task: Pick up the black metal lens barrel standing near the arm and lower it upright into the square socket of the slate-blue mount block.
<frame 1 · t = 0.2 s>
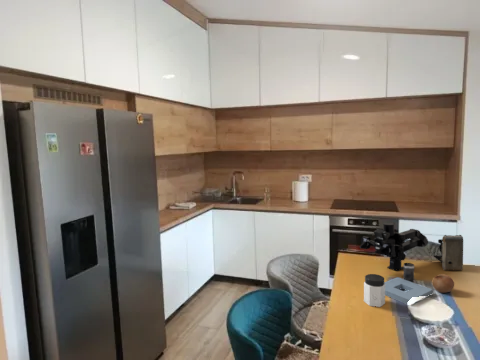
hand: (367, 249, 175), 16 cm above the table, fingers open, 9 cm apart
onion: (442, 291, 162), on the table
vintage camera: (446, 266, 191), on the table
lens: (408, 281, 174), on the table
jar: (374, 303, 154), on the table
mount block: (403, 292, 162), on the table
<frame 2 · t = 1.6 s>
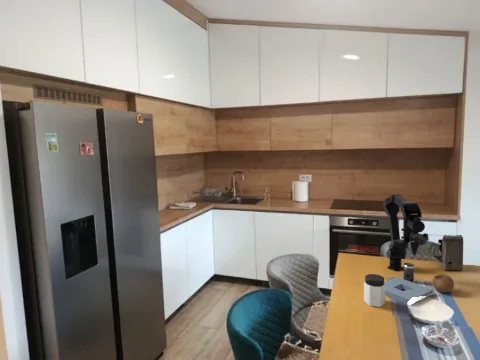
hand: (408, 257, 172), 13 cm above the table, fingers open, 9 cm apart
nothing on the table moved.
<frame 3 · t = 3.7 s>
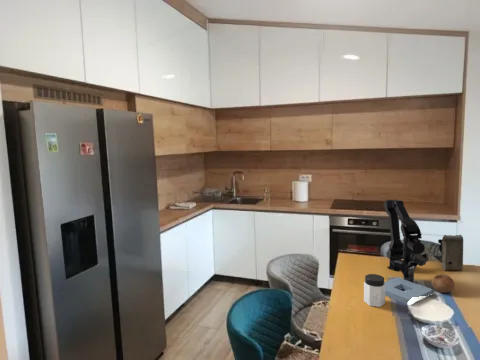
hand: (408, 276, 174), 3 cm above the table, fingers closed on lens, 5 cm apart
lens: (408, 281, 174), on the table, touching gripper
everything else where it was.
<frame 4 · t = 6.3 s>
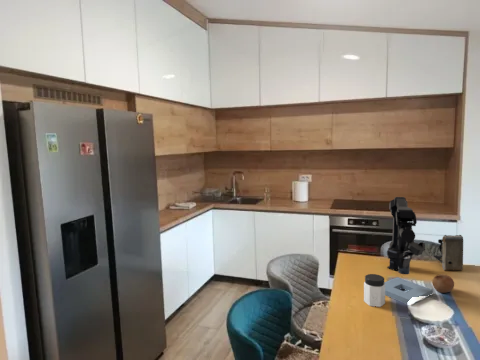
hand: (403, 267, 160), 13 cm above the table, fingers closed on lens, 5 cm apart
lens: (403, 272, 160), point 10 cm above the table, touching gripper
everything else where it was.
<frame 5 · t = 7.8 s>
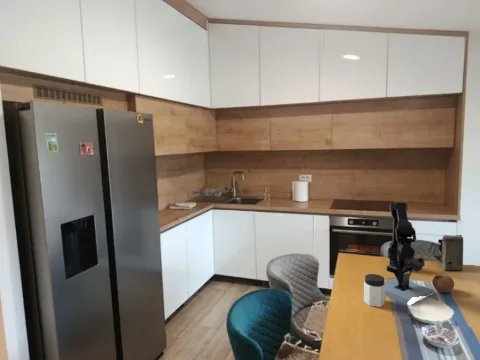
hand: (403, 282, 161), 5 cm above the table, fingers closed on lens, 5 cm apart
lens: (403, 287, 161), point 3 cm above the table, touching gripper
everything else where it was.
when the fingers open (4 cm above the table, at t = 9.0 s): lens drops 1 cm, resting in mount block.
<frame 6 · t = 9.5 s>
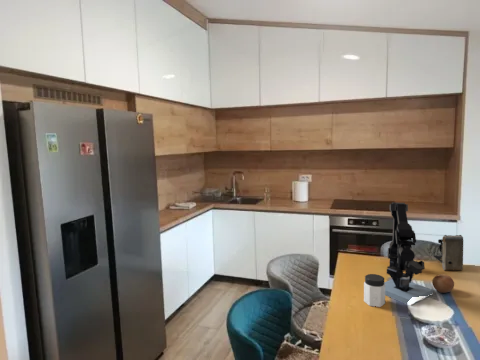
hand: (403, 285, 161), 4 cm above the table, fingers open, 9 cm apart
lens: (403, 292, 162), resting in mount block
everything else where it was.
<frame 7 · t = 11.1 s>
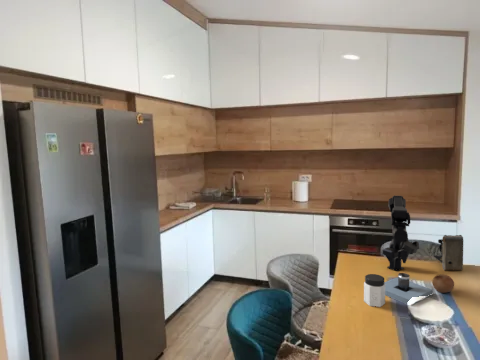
hand: (398, 265, 166), 11 cm above the table, fingers open, 9 cm apart
nothing on the table moved.
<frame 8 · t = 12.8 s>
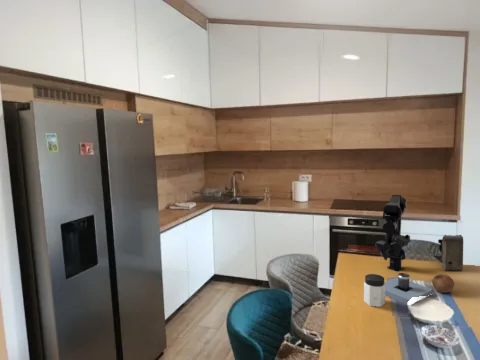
hand: (391, 258, 175), 12 cm above the table, fingers open, 9 cm apart
nothing on the table moved.
at the end: lens 0.1 cm off-centre on the mount block, point 0.0 cm above the mount block's base; lens tilted 0°; the gripper is holding nothing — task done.
